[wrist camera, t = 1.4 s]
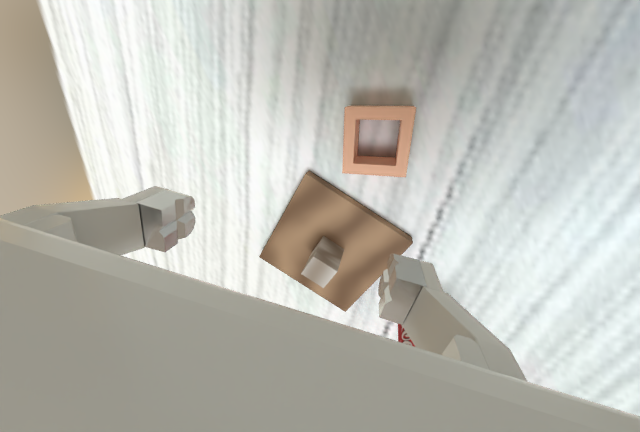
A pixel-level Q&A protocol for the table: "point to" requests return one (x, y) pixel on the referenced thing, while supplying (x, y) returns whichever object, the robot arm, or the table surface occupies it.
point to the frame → (372, 163)
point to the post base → (340, 229)
